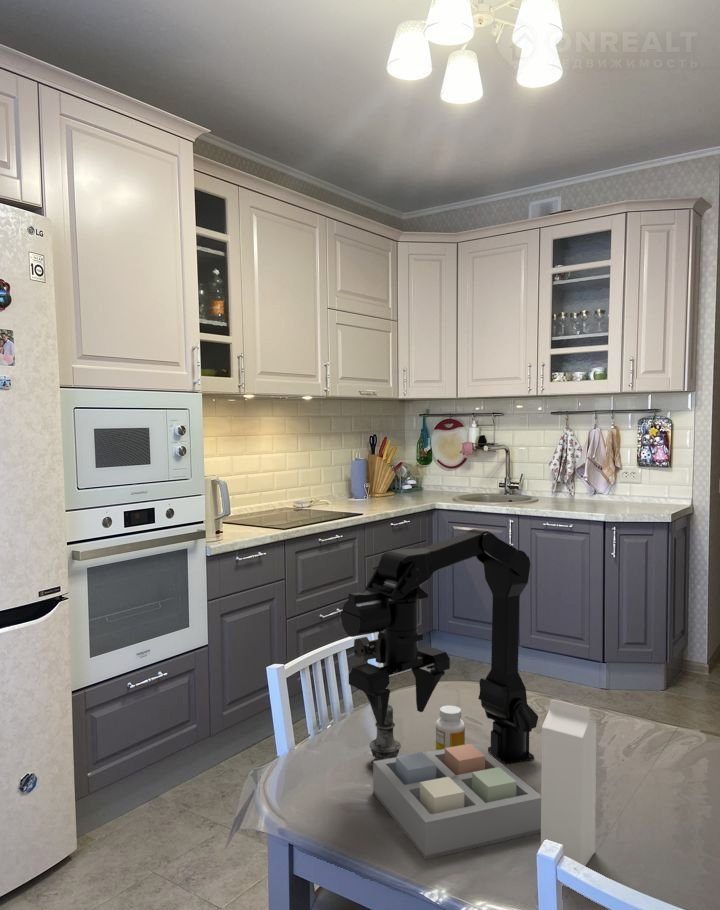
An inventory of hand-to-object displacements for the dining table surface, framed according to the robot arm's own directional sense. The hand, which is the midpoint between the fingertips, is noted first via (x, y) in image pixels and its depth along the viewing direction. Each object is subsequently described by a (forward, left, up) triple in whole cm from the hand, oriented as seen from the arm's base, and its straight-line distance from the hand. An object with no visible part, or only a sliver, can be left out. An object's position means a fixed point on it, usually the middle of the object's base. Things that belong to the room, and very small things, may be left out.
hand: (400, 718), depth 116 cm
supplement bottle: (-14, -8, -13) cm, 21 cm away
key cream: (-1, +13, -10) cm, 16 cm away
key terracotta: (-10, +3, -10) cm, 15 cm away
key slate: (-1, +3, -10) cm, 11 cm away
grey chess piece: (-2, -11, -13) cm, 17 cm away
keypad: (-6, +8, -13) cm, 16 cm away
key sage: (-10, +13, -10) cm, 19 cm away
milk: (-16, +24, -13) cm, 32 cm away
